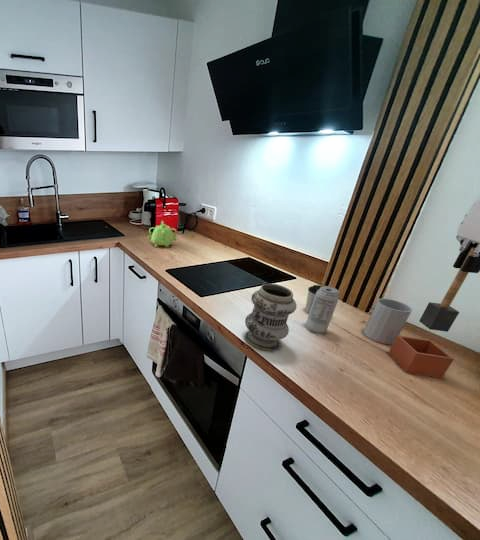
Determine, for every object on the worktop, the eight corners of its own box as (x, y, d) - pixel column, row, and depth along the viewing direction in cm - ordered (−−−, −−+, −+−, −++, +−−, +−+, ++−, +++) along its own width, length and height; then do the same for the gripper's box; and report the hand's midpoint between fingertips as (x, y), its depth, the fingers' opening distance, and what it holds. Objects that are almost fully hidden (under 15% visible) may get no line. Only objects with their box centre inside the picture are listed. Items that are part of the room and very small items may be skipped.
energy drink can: (329, 330, 95) (344, 290, 89) (320, 336, 92) (335, 295, 86) (310, 321, 100) (323, 283, 94) (301, 326, 97) (314, 287, 91)
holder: (420, 358, 83) (430, 340, 81) (442, 378, 76) (454, 359, 74) (387, 353, 85) (397, 335, 83) (406, 372, 78) (416, 353, 75)
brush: (436, 323, 77) (479, 246, 68) (447, 331, 74) (495, 252, 65) (418, 321, 78) (459, 244, 69) (429, 329, 74) (473, 250, 66)
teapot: (143, 242, 177) (144, 222, 172) (160, 239, 185) (162, 220, 179) (160, 250, 165) (162, 228, 160) (178, 246, 172) (180, 225, 167)
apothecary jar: (264, 357, 82) (280, 303, 74) (233, 334, 91) (244, 284, 84) (292, 347, 86) (310, 294, 79) (259, 325, 96) (272, 277, 89)
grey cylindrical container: (385, 331, 95) (401, 300, 91) (401, 346, 88) (418, 313, 83) (358, 327, 97) (372, 296, 92) (371, 342, 90) (386, 309, 85)
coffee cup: (315, 318, 102) (324, 294, 98) (297, 309, 107) (304, 285, 103) (327, 314, 104) (336, 290, 100) (309, 305, 110) (316, 282, 106)
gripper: (573, 199, 54) (516, 286, 61) (496, 189, 68) (457, 260, 75) (523, 197, 56) (474, 281, 63) (458, 187, 70) (423, 257, 77)
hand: (465, 269), depth 69 cm, fingers closed on brush
